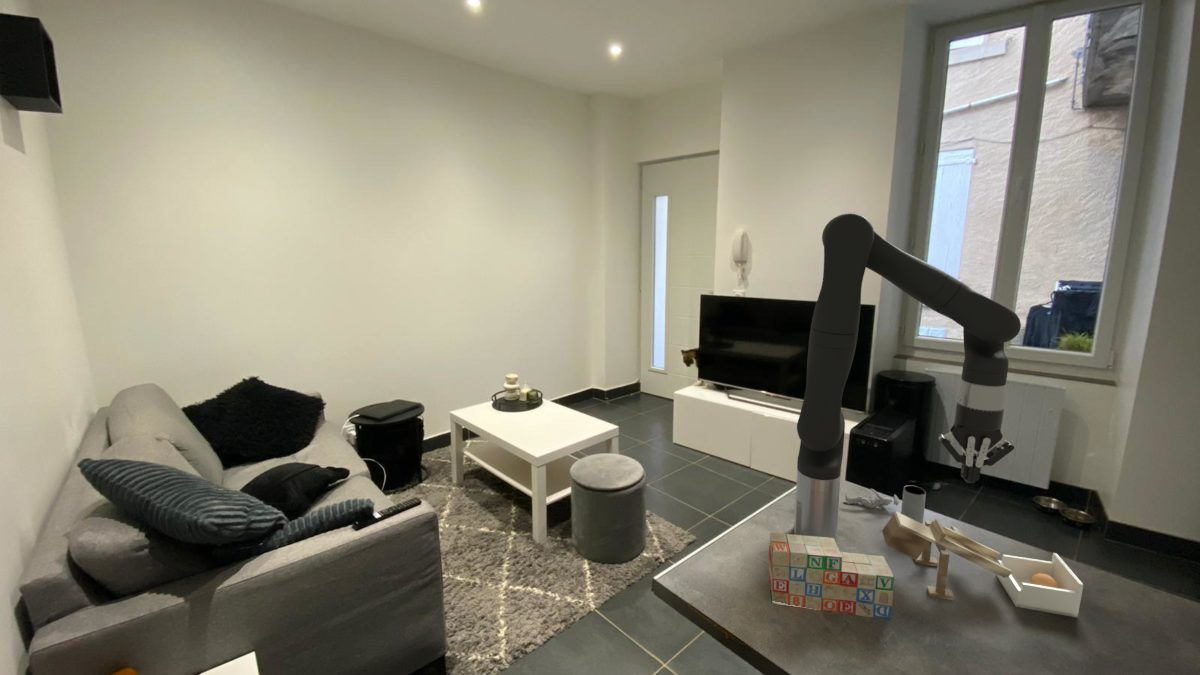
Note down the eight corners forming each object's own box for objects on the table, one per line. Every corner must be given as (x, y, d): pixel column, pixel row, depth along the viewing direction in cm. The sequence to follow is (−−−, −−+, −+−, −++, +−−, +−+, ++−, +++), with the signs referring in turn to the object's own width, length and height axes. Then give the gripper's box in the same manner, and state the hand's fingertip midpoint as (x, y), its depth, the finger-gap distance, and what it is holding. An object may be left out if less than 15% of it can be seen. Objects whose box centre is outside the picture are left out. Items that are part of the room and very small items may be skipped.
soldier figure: (844, 500, 132) (890, 490, 130) (851, 518, 130) (899, 508, 127) (844, 492, 127) (893, 481, 124) (852, 511, 124) (902, 500, 121)
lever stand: (929, 596, 96) (934, 553, 94) (913, 557, 107) (917, 518, 105) (953, 600, 94) (958, 557, 92) (934, 560, 106) (939, 521, 104)
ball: (1061, 582, 91) (1064, 601, 91) (1050, 568, 95) (1053, 586, 95) (1034, 582, 92) (1038, 601, 93) (1025, 569, 96) (1028, 587, 97)
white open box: (1015, 606, 92) (1020, 574, 91) (996, 574, 101) (1000, 545, 99) (1077, 617, 89) (1083, 584, 88) (1051, 584, 97) (1056, 553, 96)
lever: (888, 549, 99) (908, 519, 96) (876, 514, 111) (894, 487, 108) (992, 601, 94) (1017, 571, 91) (968, 559, 106) (990, 532, 103)
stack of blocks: (880, 597, 96) (885, 542, 94) (891, 621, 90) (896, 563, 88) (768, 583, 101) (769, 530, 99) (771, 605, 95) (772, 550, 93)
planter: (918, 524, 118) (922, 486, 116) (924, 535, 114) (928, 496, 112) (897, 521, 120) (901, 484, 118) (902, 532, 116) (906, 493, 114)
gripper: (947, 406, 96) (937, 485, 99) (1029, 412, 91) (1016, 495, 95) (936, 394, 103) (927, 468, 106) (1012, 399, 98) (1000, 477, 102)
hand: (969, 481), depth 101 cm, fingers closed
